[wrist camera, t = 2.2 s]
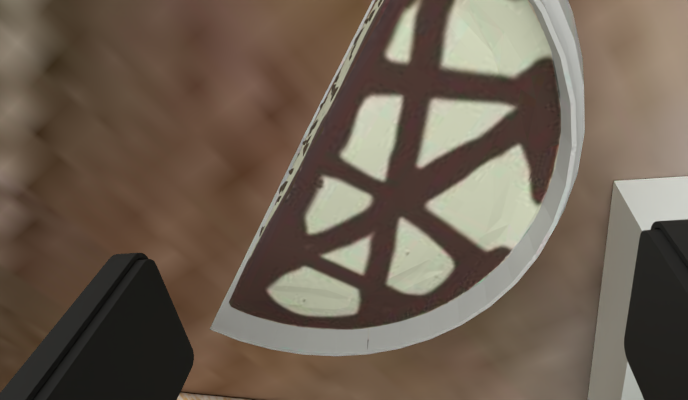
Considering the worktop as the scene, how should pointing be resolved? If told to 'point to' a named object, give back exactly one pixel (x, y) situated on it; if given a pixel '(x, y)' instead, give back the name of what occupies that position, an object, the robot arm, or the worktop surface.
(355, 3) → the worktop surface
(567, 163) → the food container
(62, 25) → the worktop surface
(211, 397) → the decorative jar
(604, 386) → the base
